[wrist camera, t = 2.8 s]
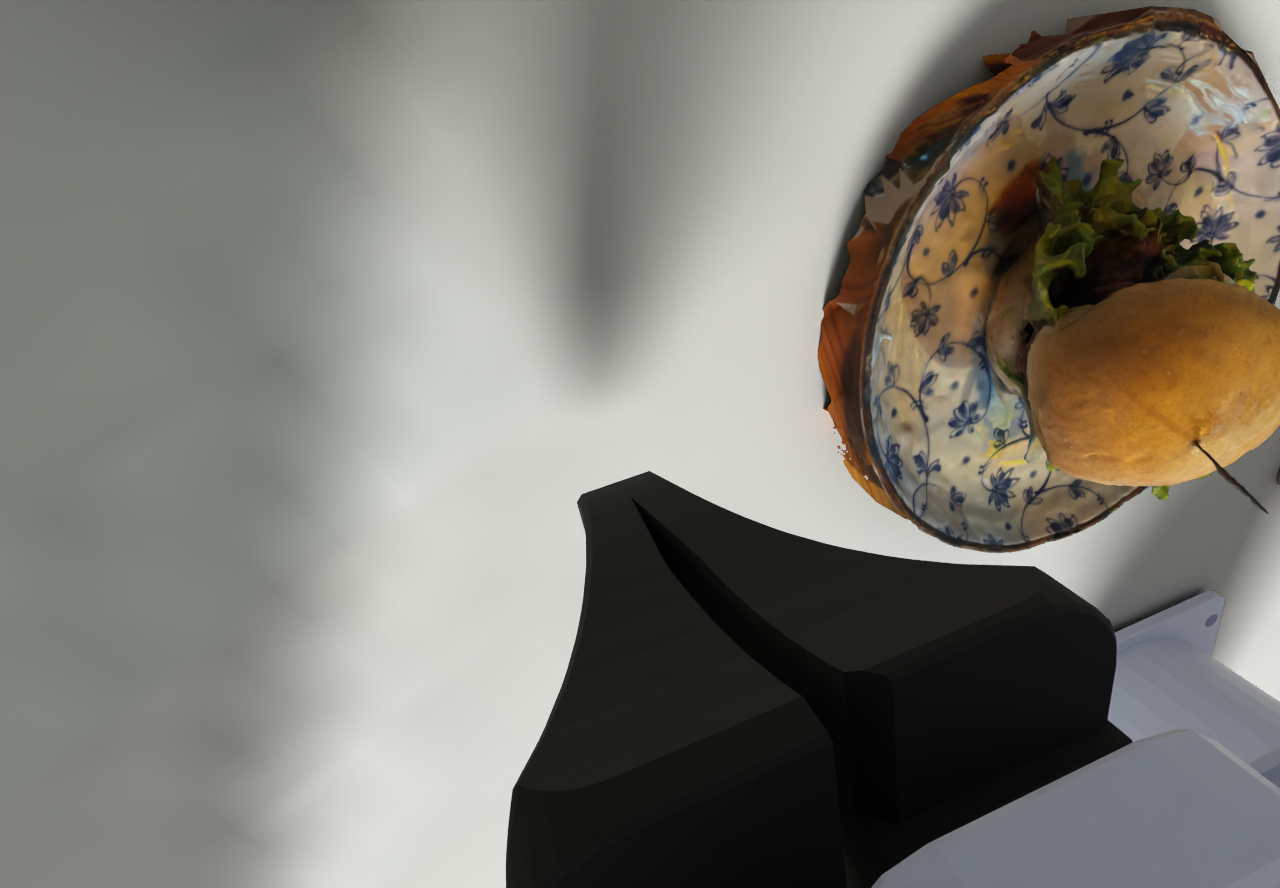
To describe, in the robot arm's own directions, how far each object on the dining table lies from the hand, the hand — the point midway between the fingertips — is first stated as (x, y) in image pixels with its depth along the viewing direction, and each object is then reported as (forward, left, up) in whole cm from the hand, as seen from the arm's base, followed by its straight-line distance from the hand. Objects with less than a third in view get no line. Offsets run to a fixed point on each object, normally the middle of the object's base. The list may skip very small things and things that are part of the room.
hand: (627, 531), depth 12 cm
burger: (0, -11, -3) cm, 12 cm away
